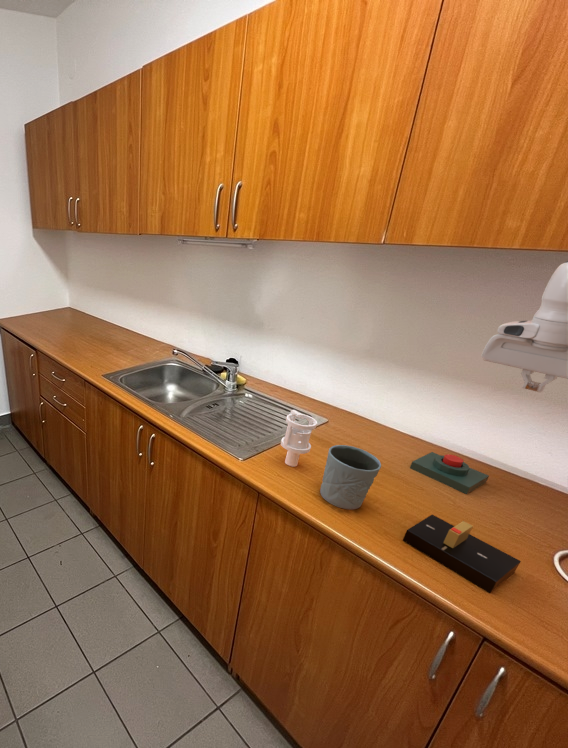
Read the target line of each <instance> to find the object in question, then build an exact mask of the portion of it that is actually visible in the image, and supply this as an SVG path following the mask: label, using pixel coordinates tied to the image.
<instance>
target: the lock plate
mask: <svg viewBox="0 0 568 748" xmlns="http://www.w3.org/2000/svg"><path fill="white" fill-rule="evenodd" d="M454 526H455V525H453V524H451V523H450V522H447V521H446V520H444V519H442V518H440V517H438V516H436V515H434V514H431V515H429V516H427V517H425V518H424V519H423V520H421V521H419V522H417V523H416V524H414V525H412V526H411V527H409V528H408V529H406V531H405V533H404V536H403V538H402V542H404V543H407V544H408V545H409V546H410V547H413V548H414V549H416V550H418V551H419V552H421V553H422V554H424V555H426V556H427V557H429V558H431V559H432V560H434V561H436V562H437V563H439V564H440V565H442V566H444V567H445V568H447V569H449V570H450V571H452V572H454V573H455V574H457V575H458V576H460V577H462V578H464V579H466V581H468V582H470V583H472V584H474V585H475V586H477V587H479V588H480V589H481V590H483V591H485V592H486V593H489V594H491V593H492V592H494V591H495V590H496V589H497V588H498V587H499V586H501V585H502V584H503V583H505V581H507V580H508V579H509V578H510V577H512V575H513V574H515V572H516V570H517V569H518V567H519V566H520V564H521V562H522V561H521V560H519V559H518V558H516V557H514V556H511V555H510V554H508V553H506V552H504V551H502V550H501V549H499V548H497V547H495V546H493V545H491V544H489V543H487V542H485V541H483V540H482V539H479V538H478V537H476V536H474V535H473V534H469V536H468V538H467V539H466V540H464V541H463V542H462V543H460V544H459V545H457V546H456V547H454V548H451V547H449V546H448V545H446V544H444V543H443V542H444V540H445V538H446V536H447V534H448V532H449V530H450V529H451V528H453V527H454Z"/></svg>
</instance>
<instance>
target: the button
mask: <svg viewBox="0 0 568 748" xmlns="http://www.w3.org/2000/svg"><path fill="white" fill-rule="evenodd" d="M443 456H444V458H443V461H442V462H443V463H445V464H447V465H449V466H452V467H457V468H460V467H461V466H462V464H463V462H464V459H463V458H461V457H459V456H457V455H454V454H448V453H447V454H444V455H443Z"/></svg>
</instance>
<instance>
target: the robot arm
mask: <svg viewBox="0 0 568 748" xmlns="http://www.w3.org/2000/svg"><path fill="white" fill-rule="evenodd" d="M480 357H481V358H482V360H483V361H485V362H489V363H493V364H498V365H503V366H506V367H511V368H516V369H521V372H520V374H521V377H522V379H523V384H522V387H521V388H522V389H523V390H528V391H532V392H535V393H536V392H537V393H542V392H544V389H545V388H546V386H547V385H548V384H550V383H553V382H554V381H556V380H557V379H558V378H562V379H567V380H568V260H567V261H564V262H563V263H561V264H560V265H559V266H557V267H556V268H555V270H554V272H553V273H552V275H551V276H550V278H549V280H548V282H547V284H546V286H545V288H544V291H543V293H542V296H541V303H540V306H539V308H538V310H537V311H536V312H535V313H534V315H533V317H532V319H531V320H515V321H509V322H505V323H503V324H500V325H499V326H498V327H497V333H496V334H494V335H492V336H491V337H490V338H489V339H488V341H487V343H486V344H485V346H484V348H483V350H482V352H481V356H480ZM534 373H539V374H543V375H544V377H543V379H544V380H543V382H539V381H534V380H533V379H532V376H531V375H532V374H534Z"/></svg>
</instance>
